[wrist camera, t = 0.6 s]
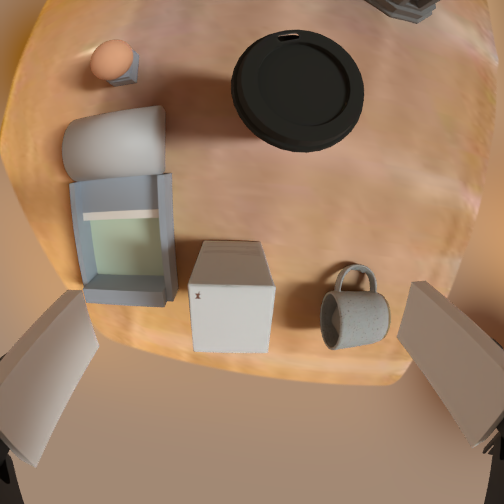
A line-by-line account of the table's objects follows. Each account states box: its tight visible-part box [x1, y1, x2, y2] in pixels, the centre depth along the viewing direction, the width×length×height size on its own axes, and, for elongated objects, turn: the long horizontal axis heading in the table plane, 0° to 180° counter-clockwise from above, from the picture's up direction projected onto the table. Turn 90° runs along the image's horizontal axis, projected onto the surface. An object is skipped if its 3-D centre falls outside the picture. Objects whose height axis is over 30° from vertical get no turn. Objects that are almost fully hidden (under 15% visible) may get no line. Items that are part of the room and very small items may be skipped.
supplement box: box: [188, 240, 276, 353], centre depth 30 cm, size 7×7×13 cm
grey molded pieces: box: [62, 50, 179, 307], centre depth 29 cm, size 31×13×8 cm, turn 179°
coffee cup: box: [231, 30, 364, 153], centre depth 23 cm, size 10×10×15 cm
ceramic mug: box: [320, 264, 391, 350], centre depth 34 cm, size 11×8×8 cm
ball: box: [90, 40, 133, 80], centre depth 22 cm, size 5×5×5 cm
